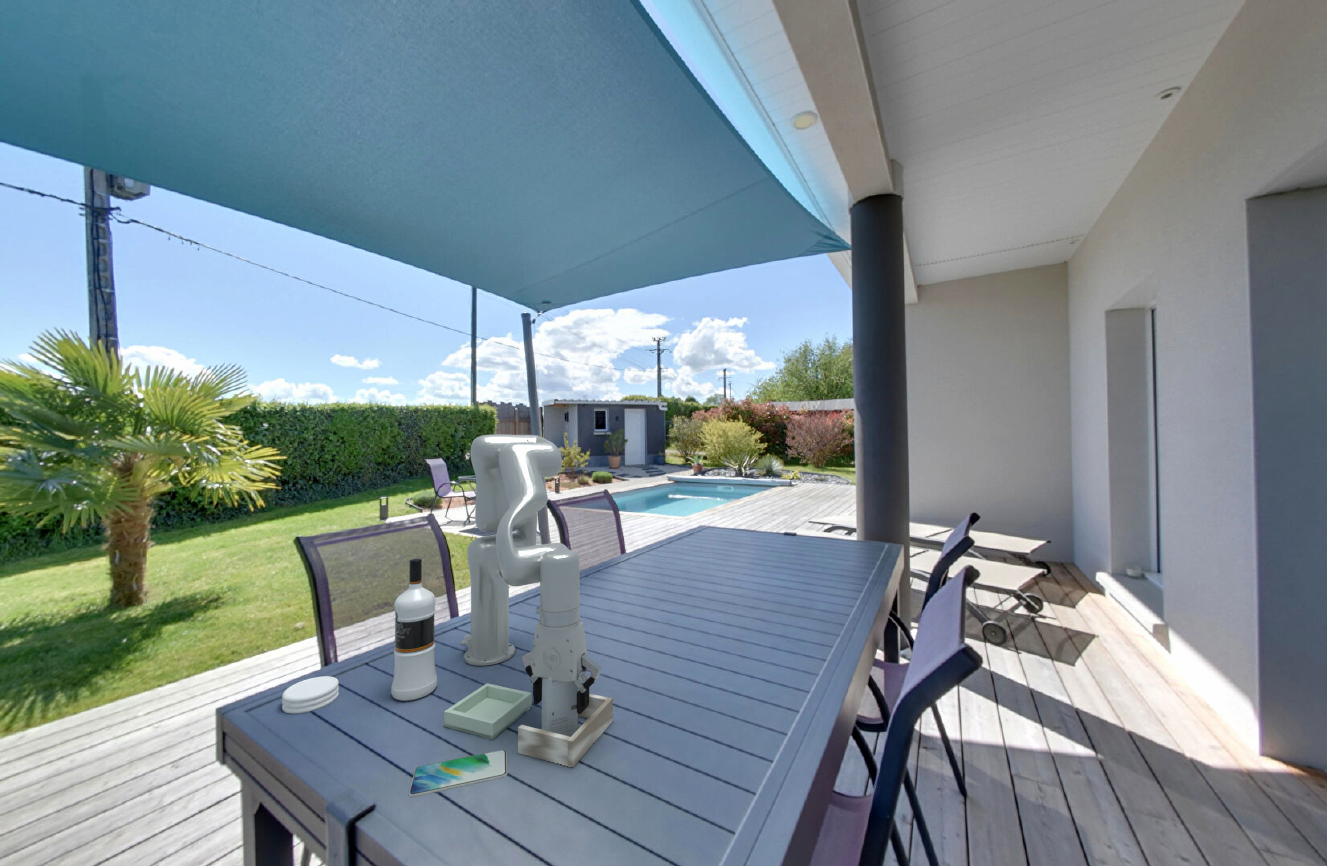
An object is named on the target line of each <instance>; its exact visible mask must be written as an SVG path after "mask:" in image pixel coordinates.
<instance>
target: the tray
mask: <svg viewBox="0 0 1327 866" xmlns="http://www.w3.org/2000/svg"><path fill="white" fill-rule="evenodd" d="M532 698H533V692H529V691H525V690H520V689H514V688H510V687H506V686H502V685H496V684H493V683H488V682H487V683H485V684H483V685H482V686H480V687H479V688H478V689H476V690H475V691H473V692H472V693H470V694H468V695H467V696H465V697H464V698H463V699H461V700H459V701H458V702H456V703H454V704H453V705H451V706H449V708H447V709H446V710H444V711H443V713H444V714H443V715H444V717H443V718H444V719H443V720H444V721H443V722H444V723H443V726H444V728H447V729H451V730H454V731H460V732H462V733H465V734H470V735H474V736H477V737H481V738H484V739H488V740H492V741H493V740H495V738H497V737H498V736H499V735H500V734H502V733H503V732H504V731H505V730H506V729H508V728H509V727H510V726H512V724H514V723H515V722H516V721H517V720H519V718H521V717H522V716H523V715H525V714H526V713H527V712H528V711H529V710H530V709H532V708H533V699H532ZM531 707H532V708H531ZM529 708H530V709H529ZM528 709H529V710H528ZM527 710H528V711H527ZM526 711H527V712H526ZM525 712H526V713H525ZM521 715H522V716H521Z"/></svg>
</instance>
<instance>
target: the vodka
mask: <svg viewBox="0 0 1327 866" xmlns="http://www.w3.org/2000/svg"><path fill="white" fill-rule="evenodd" d="M408 563H409V564H408V567H409V571H408V573H409V575H408V576H409V578H408V579H409V581H408V582H409V583H408V589H406V590H405V591H404V592H402V593H400V595H399V596H397V598H396V599H395V601H394V604H393V606H394V615H395V616H394V651H393V655H394V669H393V670H394V671H393V680H392V683H391V691H390V692H391V693H390V694H391V696H392V698H393V699H395V700H398V701H401V702H410V701H411V702H412V701H415V700H419V699H422V698H424V697H426V696H428V695H430V694H431V693H432V692H434V690H436V688H437V686H438V675H437V672H436V662H435V652H436V651H435V648H436V643H435V613H436V600H437V599H436V597H435V594H434V593H433V592H432V591H430V590H429V589H427V588H425V587H423V586H422V585H423V584H422V582H423V581H422V580H423V576H422V575H423V573H422V572H423V571H422V568H423V566H422V565H423V559H422V558H418V557H417V558H411V559H409V562H408Z"/></svg>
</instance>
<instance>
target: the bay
mask: <svg viewBox="0 0 1327 866" xmlns="http://www.w3.org/2000/svg"><path fill="white" fill-rule="evenodd" d="M613 699H614V698H613V697H607V696H602V695H597V694H592V693H589V705H588V707H587V708H586V709H585V710H584V711H583V712H582V713H581V714H578V718H583V719H584V718H585V719H586V720H585V721H584V723H583V724H581V726H579V727H578V730H577V731H576V732H575V733H574V734H573V735H572V736H571V737H569V736H565V735H561V734H557V733H553V732H549V731H545V730H542V728H538V727H532V726H528V725H524V724H521V725H519V726H518V727H517V753H518V754H521V755H524V756H528V757H531V758H535V759H540V760H542V759H543V760H542V761H546V762H549V761H550V763H553V762H554V764H557V763H559V764H558V765H560V764H562V765H561V766H564V765H565V766H564V767H567V766H568V767H569V768H571V767H573V768H575V766H577V764H578V762H580V760H581V759H582V758H583V757H584V755H585V754H586V753H587V752H588V750H590V749H591V747H592V746H593V745H594V744H595V743H596V741H597V740H598V739H599V738H600V737H601V735H603V733H604V732H605V731H606V730H607V729H608V727H609V726H610V725H611V723H613V722H614V716H613V715H614V711H613V709H614V707H613V706H614V704H613V703H614V702H613V701H614V700H613ZM593 743H594V744H593Z"/></svg>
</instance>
